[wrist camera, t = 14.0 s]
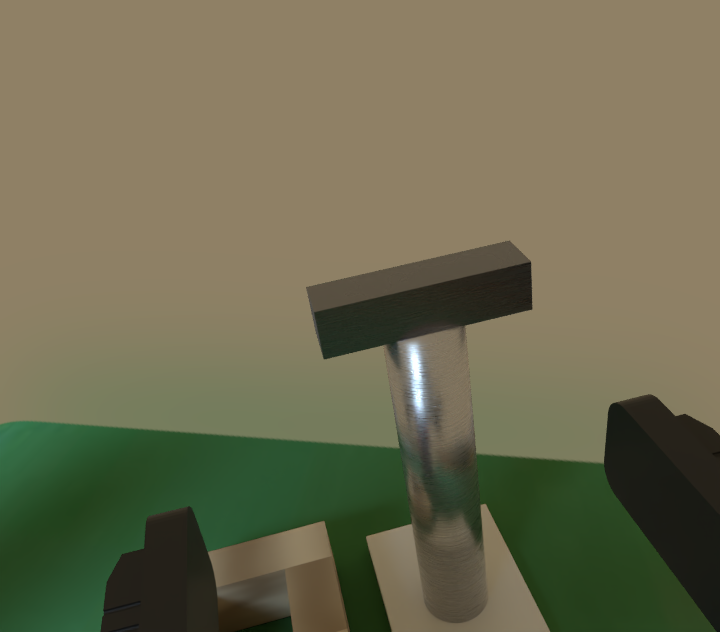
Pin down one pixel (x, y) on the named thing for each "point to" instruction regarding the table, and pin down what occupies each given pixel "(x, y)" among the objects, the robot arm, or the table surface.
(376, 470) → the table surface
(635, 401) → the robot arm
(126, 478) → the table surface
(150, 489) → the table surface
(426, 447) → the t key
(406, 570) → the beige flat plate
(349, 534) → the table surface
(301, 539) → the slot block
